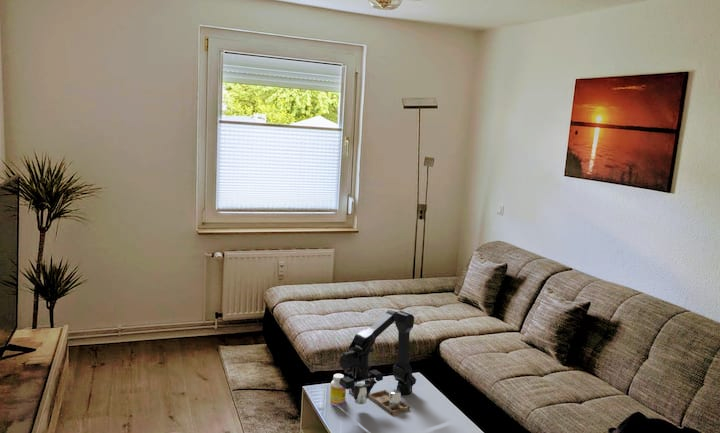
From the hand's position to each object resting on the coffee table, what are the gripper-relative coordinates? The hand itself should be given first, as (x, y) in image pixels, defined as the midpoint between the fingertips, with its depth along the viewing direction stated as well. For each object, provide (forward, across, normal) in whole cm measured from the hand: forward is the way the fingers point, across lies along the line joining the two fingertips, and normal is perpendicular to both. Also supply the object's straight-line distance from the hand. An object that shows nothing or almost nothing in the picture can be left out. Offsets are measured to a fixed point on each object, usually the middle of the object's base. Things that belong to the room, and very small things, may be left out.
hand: (360, 397), depth 240 cm
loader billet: (+6, -14, +5) cm, 16 cm away
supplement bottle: (+7, +4, -12) cm, 14 cm away
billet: (+2, 0, 0) cm, 2 cm away
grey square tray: (+7, -8, -13) cm, 17 cm away
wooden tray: (+7, -14, +1) cm, 16 cm away
